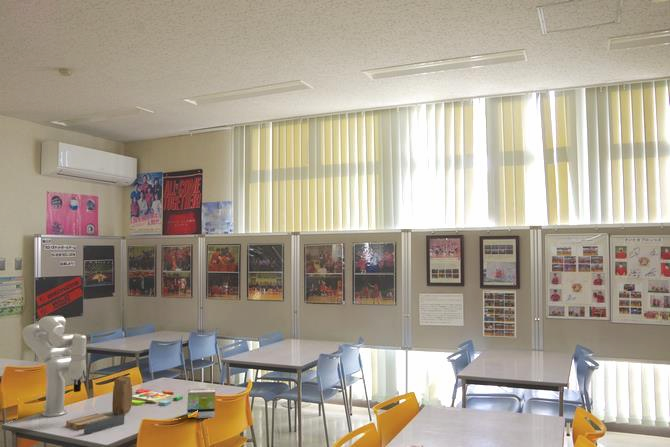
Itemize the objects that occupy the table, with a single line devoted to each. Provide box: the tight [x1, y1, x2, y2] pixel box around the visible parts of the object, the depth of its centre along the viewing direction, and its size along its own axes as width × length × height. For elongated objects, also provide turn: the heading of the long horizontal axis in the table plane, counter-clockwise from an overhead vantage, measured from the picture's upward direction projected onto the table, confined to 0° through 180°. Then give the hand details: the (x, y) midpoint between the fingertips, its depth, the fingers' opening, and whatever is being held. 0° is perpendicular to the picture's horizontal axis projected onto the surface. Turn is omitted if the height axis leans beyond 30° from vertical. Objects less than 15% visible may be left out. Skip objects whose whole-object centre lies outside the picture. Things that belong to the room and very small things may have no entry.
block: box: [112, 376, 133, 415], centre depth 314 cm, size 11×8×20 cm
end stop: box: [83, 413, 126, 435], centre depth 284 cm, size 2×22×5 cm, turn 148°
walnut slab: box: [65, 413, 109, 431], centre depth 291 cm, size 12×18×3 cm, turn 146°
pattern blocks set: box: [132, 388, 184, 407], centre depth 345 cm, size 38×34×3 cm
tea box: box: [186, 387, 216, 419], centre depth 310 cm, size 15×10×15 cm
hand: (77, 391), depth 298 cm, fingers closed
